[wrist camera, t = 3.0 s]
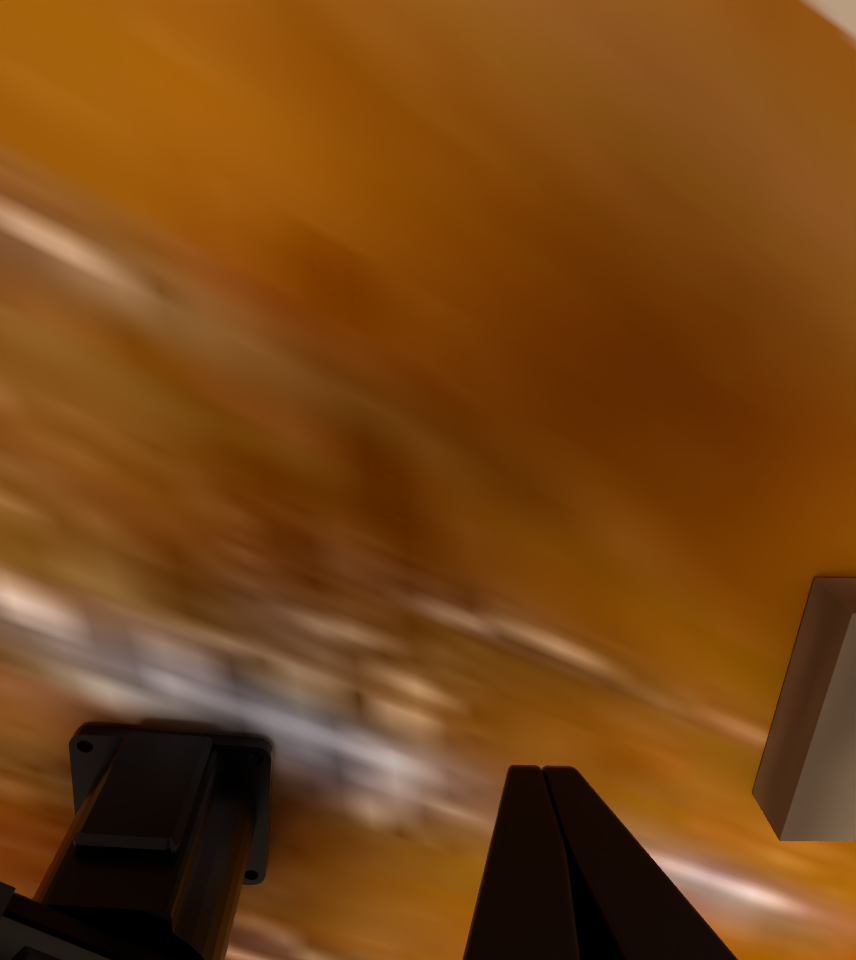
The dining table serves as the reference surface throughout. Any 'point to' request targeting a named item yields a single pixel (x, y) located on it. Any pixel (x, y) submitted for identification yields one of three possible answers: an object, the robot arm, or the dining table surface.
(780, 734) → the grey base plate stand
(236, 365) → the dining table surface
